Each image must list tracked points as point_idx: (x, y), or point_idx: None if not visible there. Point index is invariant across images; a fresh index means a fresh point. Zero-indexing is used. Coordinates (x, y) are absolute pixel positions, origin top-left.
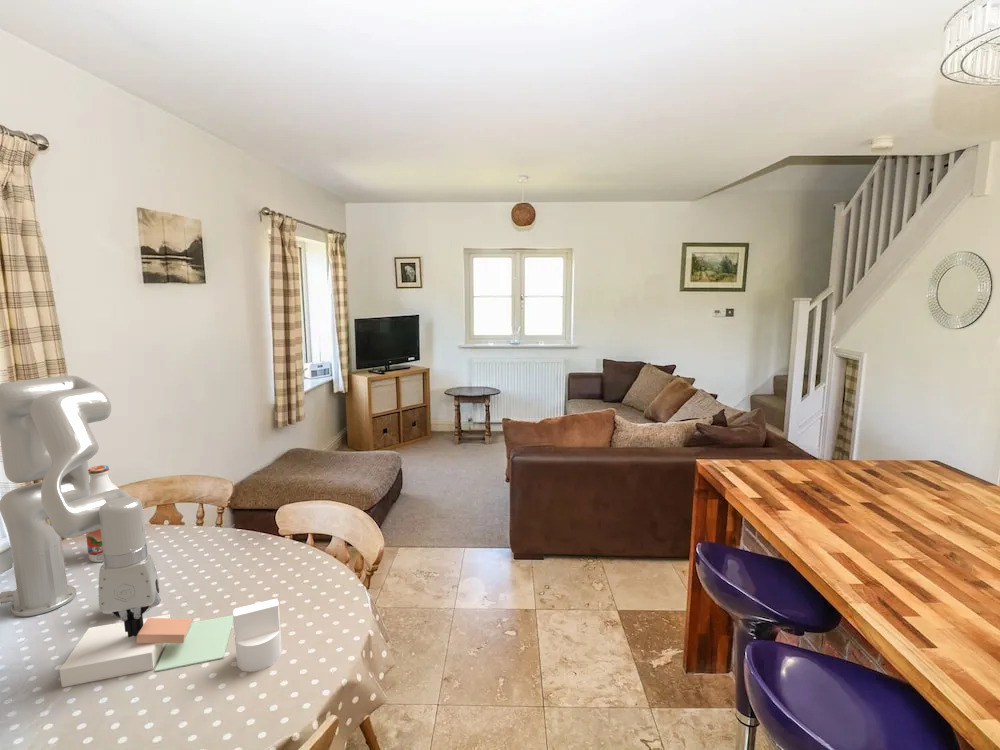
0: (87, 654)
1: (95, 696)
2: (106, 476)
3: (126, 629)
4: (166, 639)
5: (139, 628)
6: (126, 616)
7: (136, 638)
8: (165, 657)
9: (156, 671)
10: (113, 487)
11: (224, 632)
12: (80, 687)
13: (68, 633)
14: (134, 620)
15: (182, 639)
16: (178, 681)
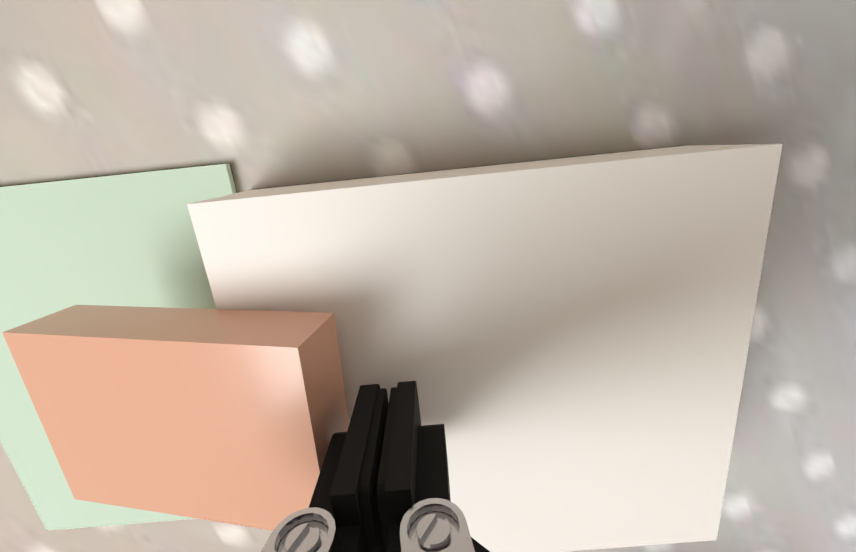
0: (642, 284)
1: (473, 10)
2: None
3: (434, 437)
4: (138, 319)
5: (343, 436)
6: (407, 549)
7: (383, 387)
8: None
9: (219, 164)
10: None
11: (13, 411)
12: (588, 122)
13: (776, 544)
14: (334, 491)
15: (51, 314)
16: (34, 36)
